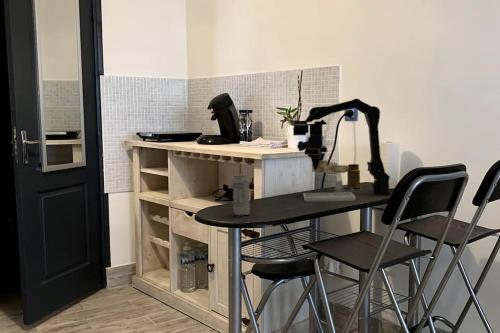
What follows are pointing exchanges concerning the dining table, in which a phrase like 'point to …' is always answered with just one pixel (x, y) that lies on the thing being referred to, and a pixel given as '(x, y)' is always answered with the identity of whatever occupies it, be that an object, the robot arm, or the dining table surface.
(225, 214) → the dining table surface
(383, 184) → the robot arm
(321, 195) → the tray
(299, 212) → the dining table surface
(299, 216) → the dining table surface
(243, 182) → the energy drink can
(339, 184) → the cylinder
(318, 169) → the wooden block frame
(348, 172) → the condiment
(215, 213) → the dining table surface
